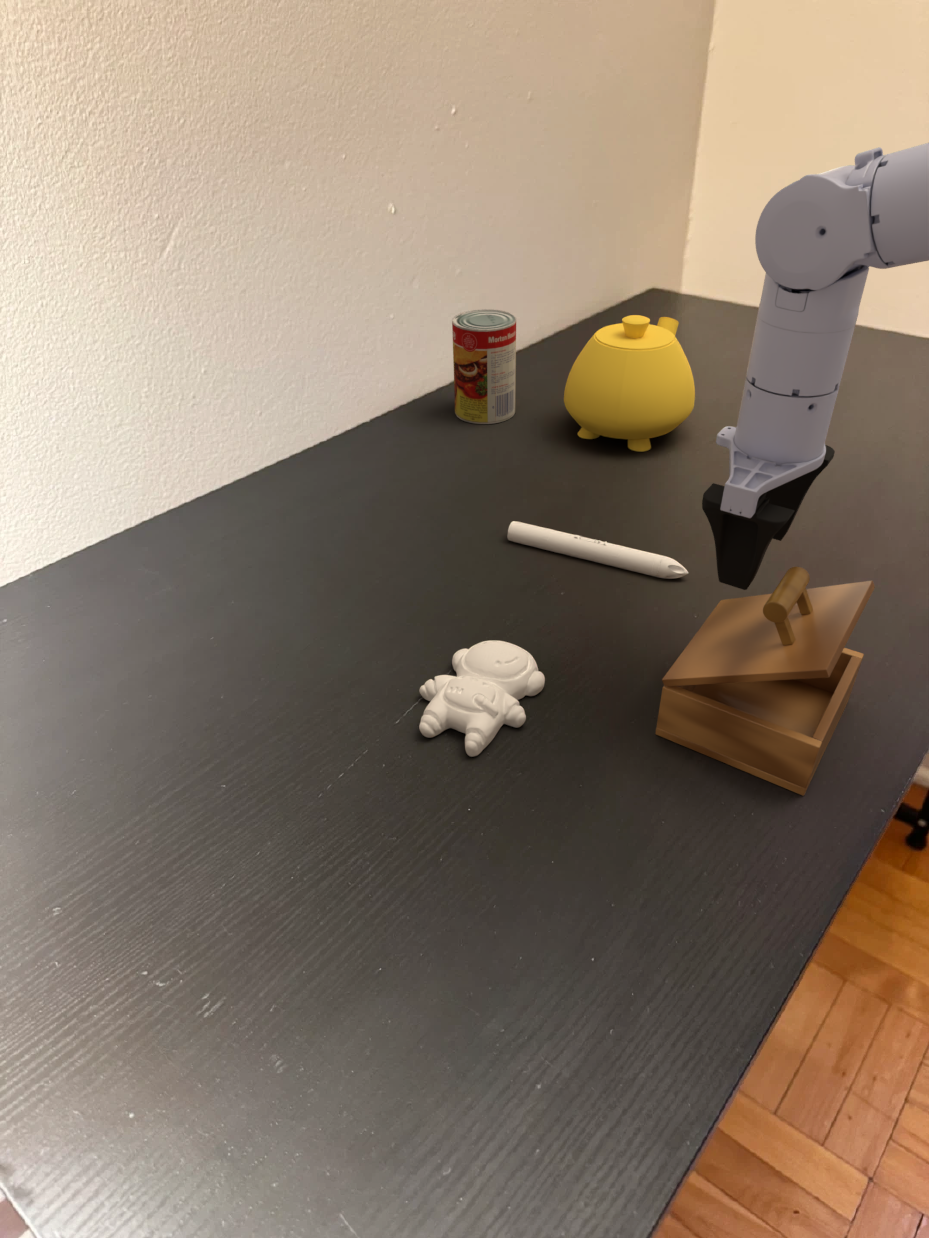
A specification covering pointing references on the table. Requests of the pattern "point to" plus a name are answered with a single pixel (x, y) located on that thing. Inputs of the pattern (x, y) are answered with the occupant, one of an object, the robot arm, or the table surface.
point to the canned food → (484, 365)
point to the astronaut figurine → (481, 693)
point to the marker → (596, 551)
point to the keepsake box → (762, 721)
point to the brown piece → (773, 634)
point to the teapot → (631, 382)
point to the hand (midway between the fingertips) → (752, 558)
